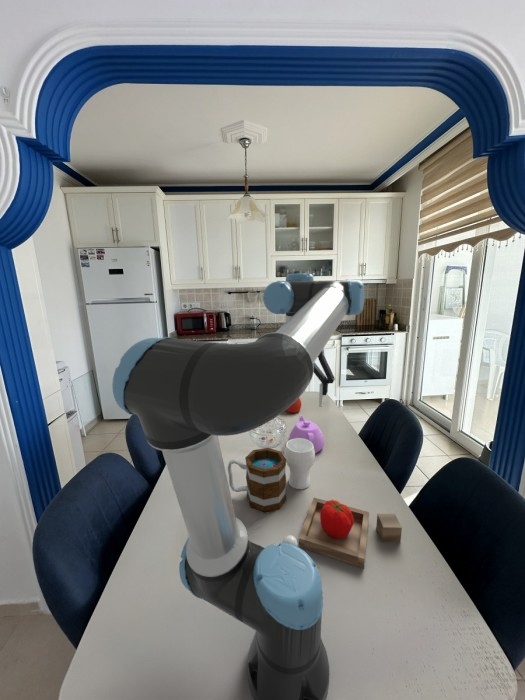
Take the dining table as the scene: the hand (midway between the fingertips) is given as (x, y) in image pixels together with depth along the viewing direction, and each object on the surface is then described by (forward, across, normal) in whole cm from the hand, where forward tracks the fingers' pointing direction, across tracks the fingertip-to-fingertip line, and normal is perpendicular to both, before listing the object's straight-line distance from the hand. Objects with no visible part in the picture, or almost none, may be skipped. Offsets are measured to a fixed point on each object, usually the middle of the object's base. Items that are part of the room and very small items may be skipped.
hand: (298, 402), depth 88 cm
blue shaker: (+37, -4, +20) cm, 42 cm away
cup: (+37, +3, -13) cm, 39 cm away
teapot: (+37, +7, -38) cm, 53 cm away
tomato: (+36, -13, +5) cm, 39 cm away
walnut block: (+37, -27, 0) cm, 46 cm away
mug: (+37, +14, 0) cm, 39 cm away
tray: (+37, -13, +5) cm, 39 cm away
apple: (+37, +24, -72) cm, 84 cm away
